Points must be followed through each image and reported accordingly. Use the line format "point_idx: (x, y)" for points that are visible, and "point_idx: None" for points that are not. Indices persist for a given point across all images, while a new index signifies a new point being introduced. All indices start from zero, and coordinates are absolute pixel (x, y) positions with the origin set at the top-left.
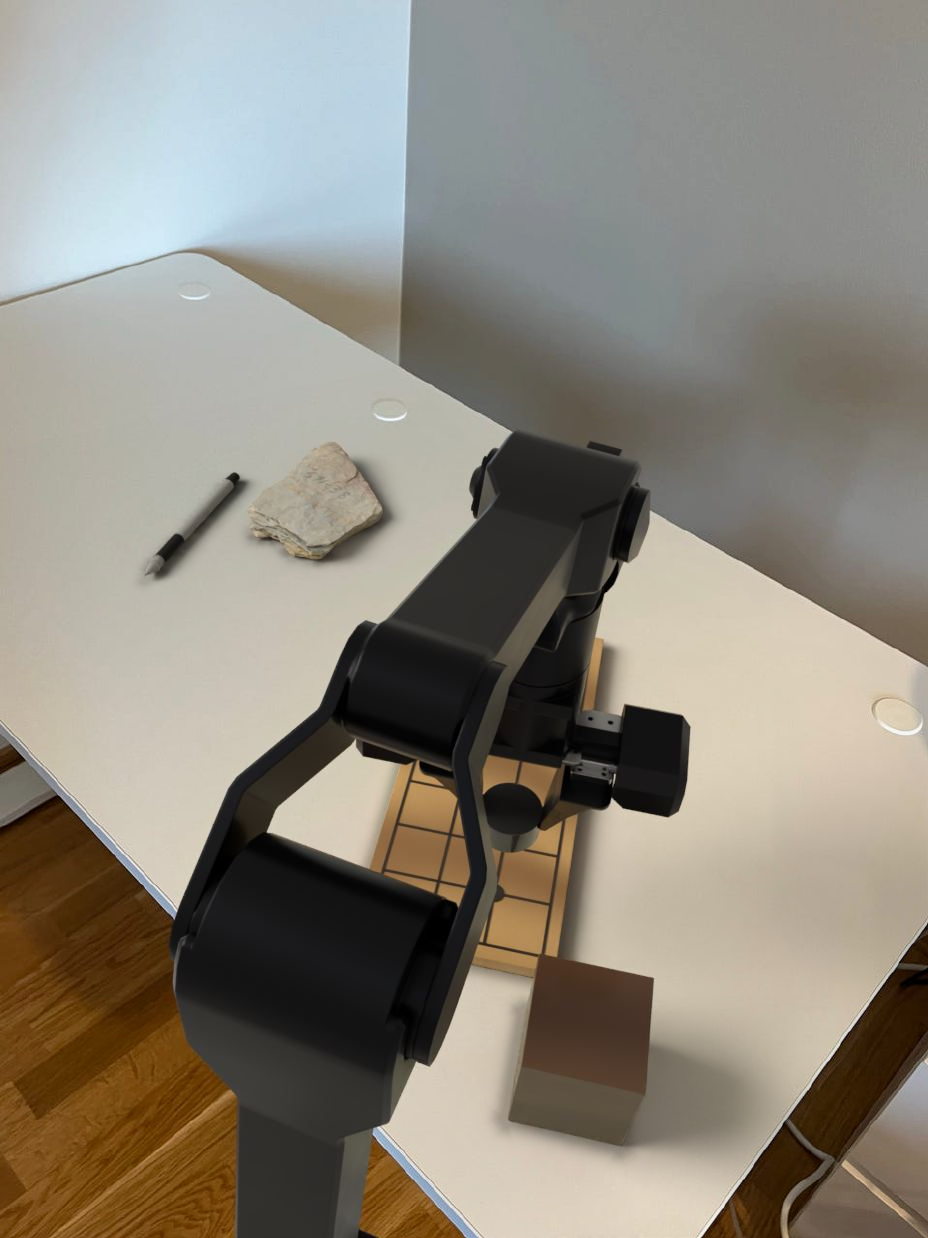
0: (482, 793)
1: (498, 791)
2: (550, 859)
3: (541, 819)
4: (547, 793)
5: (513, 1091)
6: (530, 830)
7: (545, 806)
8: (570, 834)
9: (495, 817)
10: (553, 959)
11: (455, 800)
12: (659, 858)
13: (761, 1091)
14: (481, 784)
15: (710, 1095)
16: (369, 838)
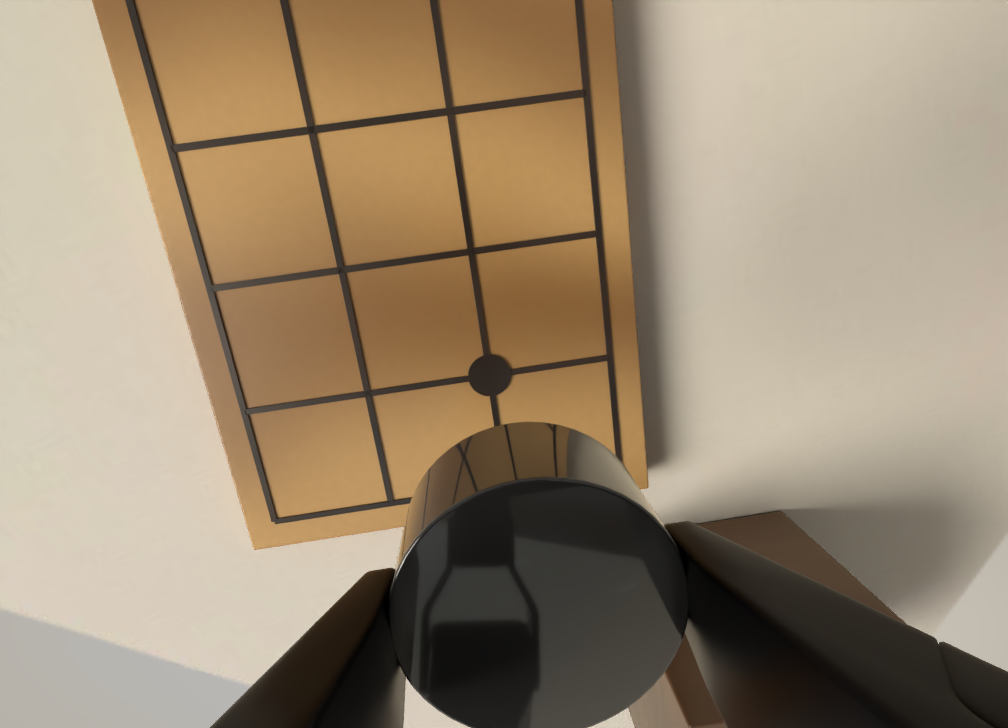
0: (382, 627)
1: (452, 561)
2: (583, 246)
3: (711, 680)
4: (737, 605)
5: (636, 722)
6: (654, 681)
7: (748, 701)
8: (613, 157)
9: (487, 685)
10: (725, 726)
11: (311, 165)
12: (808, 122)
13: (983, 514)
14: (356, 722)
15: (906, 547)
16: (180, 319)
